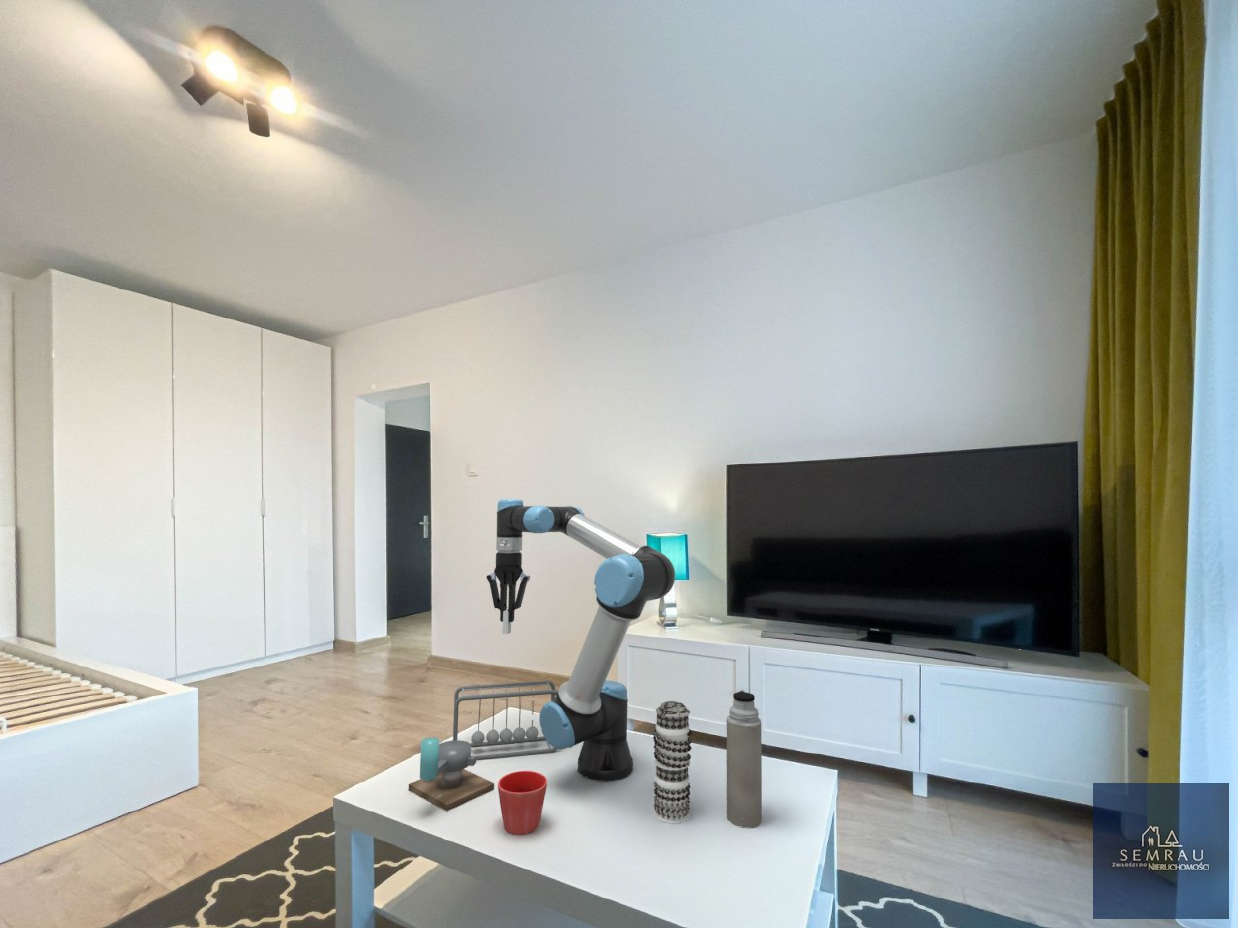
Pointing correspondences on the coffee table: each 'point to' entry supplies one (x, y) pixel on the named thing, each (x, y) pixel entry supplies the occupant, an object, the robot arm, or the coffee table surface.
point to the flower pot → (522, 801)
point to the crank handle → (444, 757)
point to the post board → (451, 788)
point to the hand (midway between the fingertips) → (506, 633)
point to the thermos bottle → (744, 762)
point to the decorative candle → (672, 763)
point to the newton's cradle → (506, 733)
